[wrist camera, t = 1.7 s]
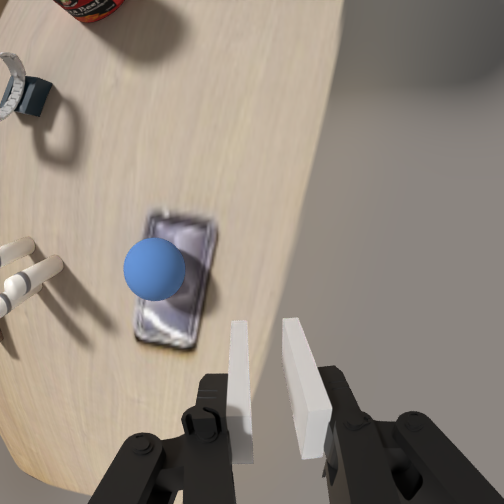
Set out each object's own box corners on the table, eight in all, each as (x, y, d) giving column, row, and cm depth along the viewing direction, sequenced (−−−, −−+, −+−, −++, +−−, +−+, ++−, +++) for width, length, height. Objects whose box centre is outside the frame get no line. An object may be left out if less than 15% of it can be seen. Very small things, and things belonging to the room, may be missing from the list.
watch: (9, 125, 25) (-50, 118, 15) (31, 67, 24) (-23, 45, 13) (34, 132, 26) (-28, 125, 15) (58, 70, 24) (3, 43, 14)
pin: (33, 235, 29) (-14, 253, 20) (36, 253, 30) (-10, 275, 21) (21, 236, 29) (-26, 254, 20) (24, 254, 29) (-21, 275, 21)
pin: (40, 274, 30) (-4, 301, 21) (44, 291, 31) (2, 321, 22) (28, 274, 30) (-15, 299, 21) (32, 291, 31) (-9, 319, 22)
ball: (187, 231, 30) (174, 244, 24) (192, 287, 31) (182, 311, 25) (132, 233, 29) (109, 246, 24) (139, 288, 31) (119, 310, 25)
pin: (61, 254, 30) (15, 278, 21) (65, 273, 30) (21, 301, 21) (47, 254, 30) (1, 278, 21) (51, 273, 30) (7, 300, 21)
